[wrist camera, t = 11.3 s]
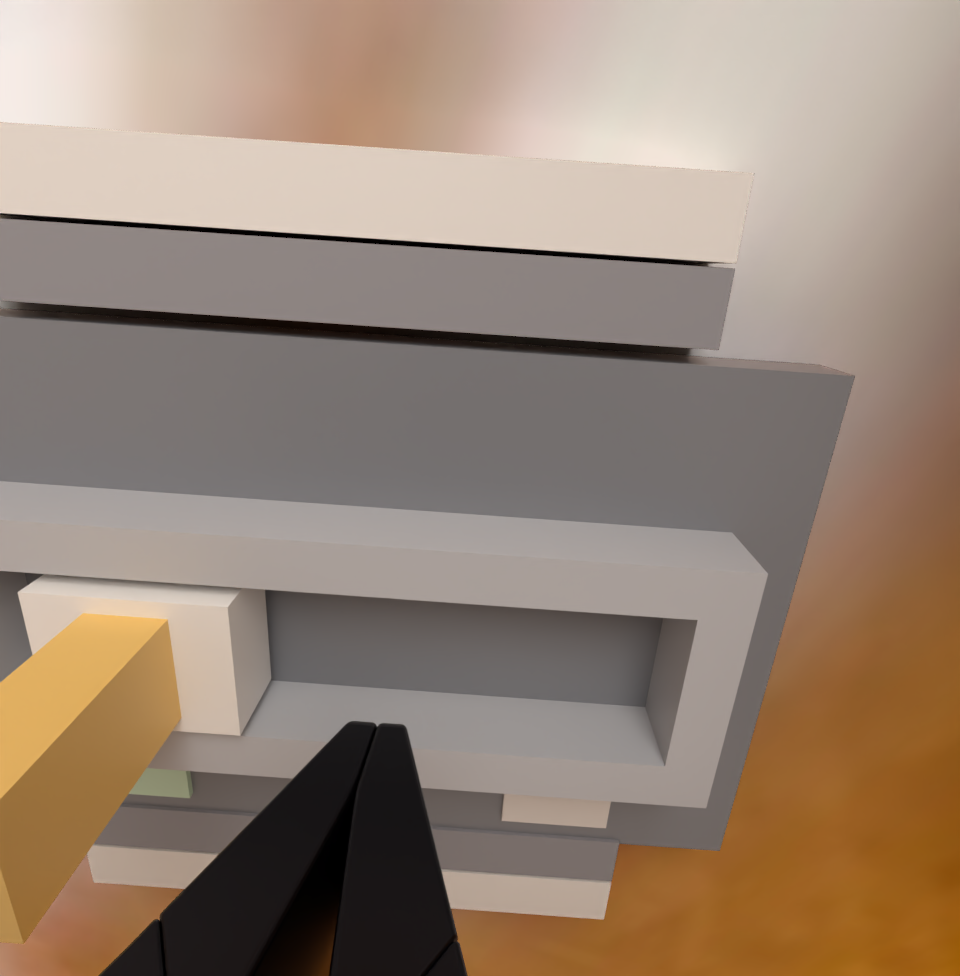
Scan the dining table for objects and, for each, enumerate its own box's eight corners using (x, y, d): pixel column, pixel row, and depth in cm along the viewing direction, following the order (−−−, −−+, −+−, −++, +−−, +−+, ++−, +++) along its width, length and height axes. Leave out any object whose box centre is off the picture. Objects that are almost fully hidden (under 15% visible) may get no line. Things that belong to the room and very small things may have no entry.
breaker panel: (818, 364, 14) (916, 395, 11) (703, 807, 19) (745, 920, 16) (-109, 300, 14) (-290, 311, 11) (15, 757, 19) (-84, 860, 16)
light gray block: (610, 797, 19) (619, 843, 17) (596, 870, 20) (603, 919, 19) (108, 761, 19) (75, 803, 18) (123, 836, 20) (93, 882, 19)
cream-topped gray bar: (724, 183, 13) (754, 173, 11) (694, 340, 14) (719, 349, 12) (-18, 133, 13) (-86, 116, 11) (14, 293, 14) (-44, 297, 13)
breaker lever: (262, 562, 14) (75, 801, 8) (271, 678, 16) (113, 967, 9) (80, 549, 14) (-253, 776, 8) (102, 666, 16) (-172, 946, 9)
